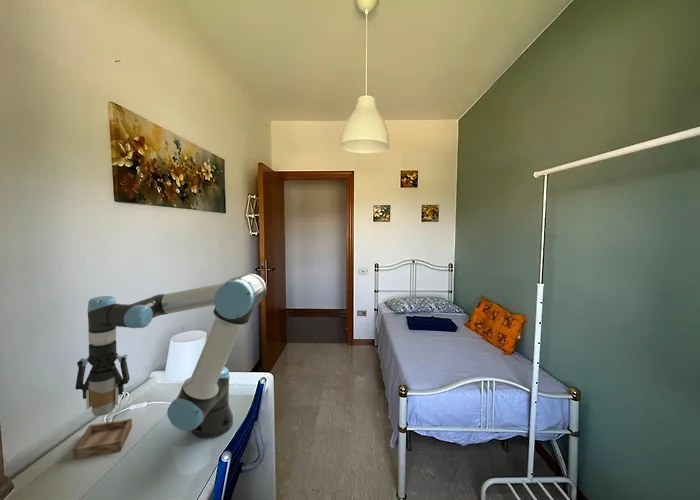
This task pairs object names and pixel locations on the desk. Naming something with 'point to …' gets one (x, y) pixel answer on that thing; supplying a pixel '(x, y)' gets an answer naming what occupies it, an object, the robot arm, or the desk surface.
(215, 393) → the robot arm
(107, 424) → the tray
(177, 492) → the desk surface
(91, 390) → the coffee cup
